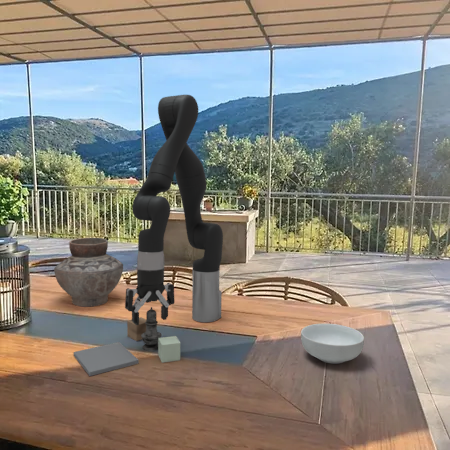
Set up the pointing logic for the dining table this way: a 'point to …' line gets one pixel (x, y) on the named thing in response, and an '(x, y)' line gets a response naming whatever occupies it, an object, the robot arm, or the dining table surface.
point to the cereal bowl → (332, 342)
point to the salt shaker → (151, 331)
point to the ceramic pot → (89, 272)
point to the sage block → (169, 349)
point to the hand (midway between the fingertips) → (150, 321)
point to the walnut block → (136, 329)
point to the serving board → (105, 358)
